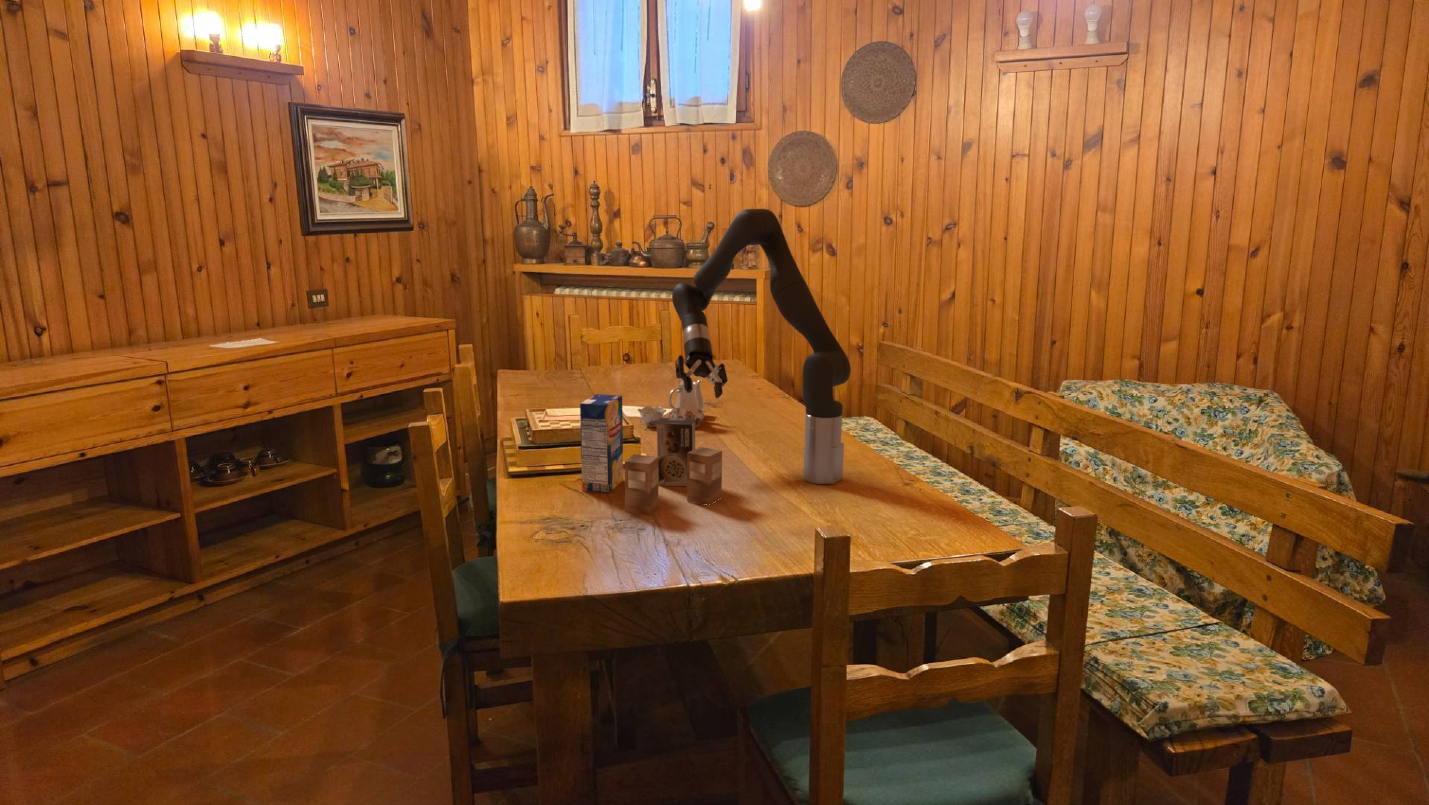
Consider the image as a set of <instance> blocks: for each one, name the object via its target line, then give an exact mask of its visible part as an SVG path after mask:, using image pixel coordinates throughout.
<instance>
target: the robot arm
mask: <svg viewBox="0 0 1429 805" xmlns="http://www.w3.org/2000/svg"><path fill="white" fill-rule="evenodd" d="M748 246H760V248H762V251H763V252H764V254H765V257H766V258H767V261H768V262H769V268H770V276H769V278H770V279H769V288H770V293H771V296H772V298H773V301H774V302H775V304H776V307H777V309H778V311H779V313H780V314H781V316H782V317H783V318H784V320H785V321H786V322H787V323H788V324H789V325H791V326H792V328H794V329H795V330H796V331H797V332H798V333H799V334H800V335H802V336H803V337H804V339H806V341H807V343H808V344H809V346H810V347H811V349H812V351H813V353H810V354H809V355H808V356H807V357H806V359H805V360H804V362H803V367H802V399H803V400H802V401H803V403H804V407H805V421H804V422H805V426H804V449H803V450H804V455H803V480H804V481H806V482H809V483H812V484H818V485H835V484H837V483H838V482H840V481H842V480H843V479H844V478H843V477H844V476H843V475H844V454H845V452H844V451H845V443H844V442H842V432H843V431H842V429H843V428H842V427H843V408H844V407H843V404H842V403H841V401H839V400H836V399H834V387H837V386H841V385H844V384H845V383H846V382H847V381H848V380H849V378H850V376H851V371H852V370H851V364H850V360H849V358H848V356H847V354H846V352H845V351H844V349H843V347H842V346H841V345H840V343H839V341H838V340H837V338H836V337H835V336H834V334H833V333H832V331H831V329H830V327H829V325H828V323H827V322H826V320H825V318H824V316H823V314H822V311H820V308H819V306H818V305H817V303H816V301H815V298H814V297H813V294H812V292H811V290H810V288H809V286H808V284H807V281H806V280H805V278H804V277H803V275H802V273H801V270H800V268H799V267H798V265H797V262H796V260H795V259H794V258H795V257H794V256H793V254H792V251H791V250H790V247H789V245H788V242H787V240H786V237H785V234H784V232H783V229H782V226H781V224H780V221H779V220H778V218H777V216H776V215H775V213H774V212H773V211H772V210H770V209H767V208H747V209H746V208H745V209H743V210H740V212H739V213H737V214H736V216H735V217H734V219H733V220H732V222H731V223H730V224H729V227H728V228H727V230H726V232H725V233H724V235H723V237H722V239H721V240H720V242H719V243H718V245H717V247H716V248H715V250H714V251H713V253H712V254H711V255H710V256H709V257H708V258H707V260H706V261H705V262H704V264H702V265H701V267H700V268H699V269H698V270H697V271H696V273H695V274H694V276H693V283H694V285H693V284H690V283H687V282H680V283H678V284H676V285H675V286H674V288H673V290H672V293H671V294H672V295H671V299H672V305H673V307H674V309H675V312H676V314H677V316H678V318H679V320H680V322H681V328H682V344H683V345H682V346H683V351H684V357H683V355H682V354H681V355H678V357H677V358H676V359H675V361H674V363H675V364H674V365H675V366H674V367H675V377H676V379H681V380H683V381H684V388H685V390H686V392H687V393H690V392H691V391H692V389H693V388H692V381H693V379H692V377H691V376H692V375H694V377H696V378H697V377H699V378H703V379H706V380H707V381H708V382H710V383H711V384H712V385H713V390H714V396H715V399H720V397H721V396H722V395H723V393H724V392H723V387H724V386H725V384H727V383H728V376H727V371H726V366H725V364H724V363H720V364H715V361H714V359H713V358H714V355H713V354H714V353H713V348H712V347H713V346H712V342H711V341H712V340H711V335H710V331H709V326H708V320H707V319H708V318H707V316H706V313H705V312H704V311H705V310H707V308H708V307H709V305H710V302H711V299H712V297H714V296H713V295H714V294H715V291H716V289H718V287H719V286H721V284H722V283H723V282H724V281H725V279H727V277H728V276H729V274H730V272H731V270H732V267H733V264H734V263H733V262H734V259H735V258H736V257H737V255H738V254H739V252H741V251H742V250H743V249H745V248H746V247H748ZM684 365H685V366H686V367H687V368H688V371H687V372H685V367H684ZM691 379H692V380H691Z"/></svg>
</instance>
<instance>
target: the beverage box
mask: <svg viewBox="0 0 1429 805" xmlns="http://www.w3.org/2000/svg"><path fill="white" fill-rule="evenodd" d="M579 414H580V415H579V416H580V417H579V418H580V459H581V464H580V465H581V492H587V493H589V492H590V493H600V494H610V493H611V492H612V491H613V490H614V489H615V488H616V487H618V486H619V485H620V484H621V483H622V482H624V437H623V436H624V434H623V432H624V431H623V430H624V427H623V423H624V422H623V420H624V419H623V417H624V415H623V395H615V394H614V395H612V394H601V393H600V394H599V393H596V394H594V395H593V396H590V397H589V398H587V399H585V400H584V401H582V402H580V403H579Z"/></svg>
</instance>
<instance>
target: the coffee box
mask: <svg viewBox="0 0 1429 805" xmlns="http://www.w3.org/2000/svg"><path fill="white" fill-rule="evenodd" d="M656 425H657V427H656V445H657V446H656V448H657V449H656V450H657V452H656V453H657V454H656V455H657V456H656V457H658V466H659V483H658V486H665V487H666V486H669V487H670V486H671V487H672V486H673V487H687V453H688V452H690V451H692V450H695V449H696V427H695V418H669V417H663V418H660V420H659V422H658V423H657V424H656Z"/></svg>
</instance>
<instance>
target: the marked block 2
mask: <svg viewBox="0 0 1429 805" xmlns="http://www.w3.org/2000/svg"><path fill="white" fill-rule="evenodd" d="M722 473H723V450H719V449H715V448H708V447H703V446H700V447H697V448H695V450H692V451H690V452H688V453H687V486H686V502H687V501H690V502H689V503H692V502H695V503H694V504H697V503H699V504H698V505H702V504H707V505H709V504H711V505H713V504H714V503H713V502H715V501H717V502H718V499H720V498H722V496H723V495H722V492H723V489H722V486H723V483H722V481H723V480H722V479H723V478H722V476H723V474H722ZM720 500H721V499H720ZM712 503H713V504H712ZM715 503H716V502H715ZM709 506H710V505H709Z"/></svg>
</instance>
